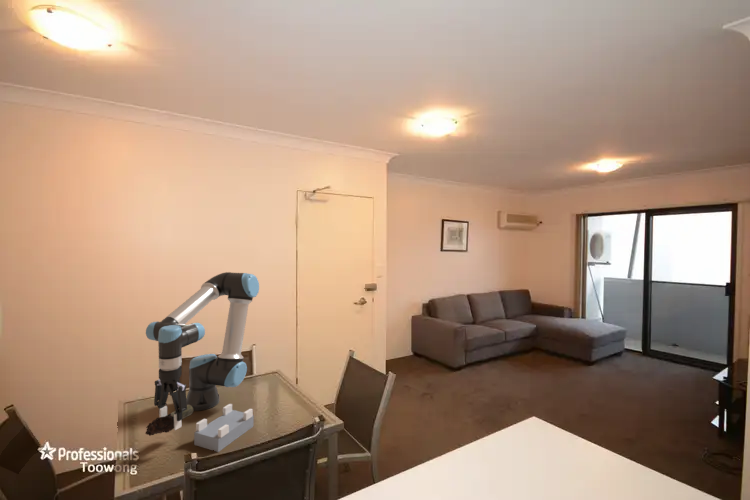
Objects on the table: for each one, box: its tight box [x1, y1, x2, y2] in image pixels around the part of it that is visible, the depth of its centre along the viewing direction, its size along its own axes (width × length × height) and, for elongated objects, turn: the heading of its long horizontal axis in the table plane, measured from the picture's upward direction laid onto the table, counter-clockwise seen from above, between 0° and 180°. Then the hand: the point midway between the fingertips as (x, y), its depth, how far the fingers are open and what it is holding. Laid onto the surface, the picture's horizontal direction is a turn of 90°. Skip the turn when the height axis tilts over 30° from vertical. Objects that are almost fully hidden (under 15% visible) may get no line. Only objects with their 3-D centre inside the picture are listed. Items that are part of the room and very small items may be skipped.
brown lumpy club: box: [144, 405, 194, 437], centre depth 135 cm, size 18×7×6 cm, turn 160°
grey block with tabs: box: [193, 403, 255, 453], centre depth 145 cm, size 12×20×8 cm, turn 160°
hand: (170, 426), depth 135 cm, fingers closed on brown lumpy club, 7 cm apart
